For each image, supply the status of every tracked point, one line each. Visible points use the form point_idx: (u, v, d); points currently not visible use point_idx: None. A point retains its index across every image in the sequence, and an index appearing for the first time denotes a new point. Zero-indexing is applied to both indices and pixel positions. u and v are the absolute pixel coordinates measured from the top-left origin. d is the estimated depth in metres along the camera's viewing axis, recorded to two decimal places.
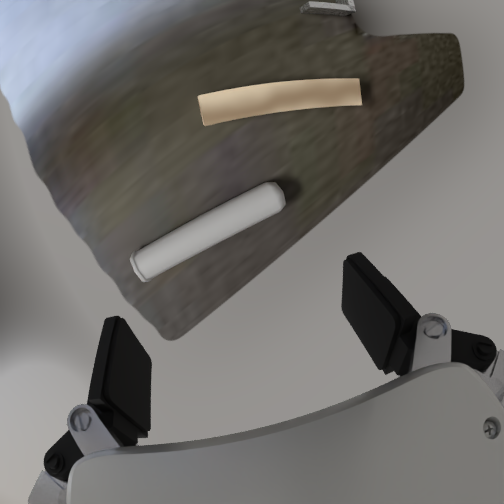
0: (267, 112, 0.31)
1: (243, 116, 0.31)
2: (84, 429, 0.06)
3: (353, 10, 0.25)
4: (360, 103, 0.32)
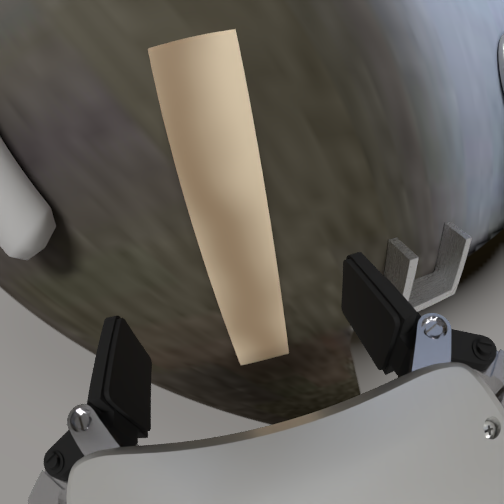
0: (188, 201, 0.13)
1: (173, 142, 0.12)
2: (84, 429, 0.06)
3: None
4: (243, 363, 0.21)
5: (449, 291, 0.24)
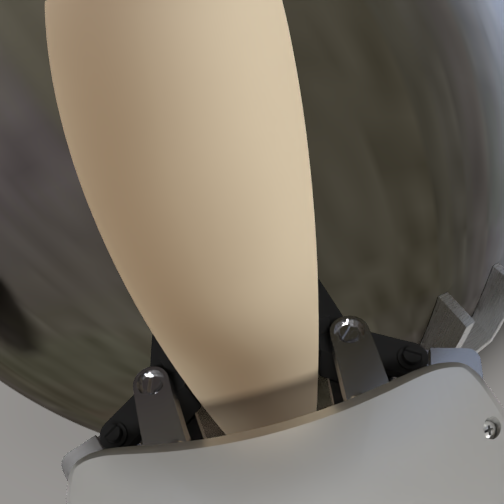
0: (164, 342, 0.06)
1: (108, 232, 0.05)
2: (150, 392, 0.07)
3: None
4: None
5: (488, 341, 0.18)
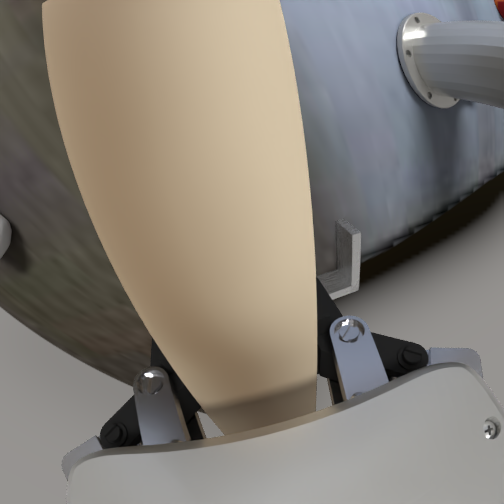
0: (163, 343, 0.06)
1: (106, 234, 0.05)
2: (150, 392, 0.07)
3: None
4: None
5: (349, 288, 0.29)
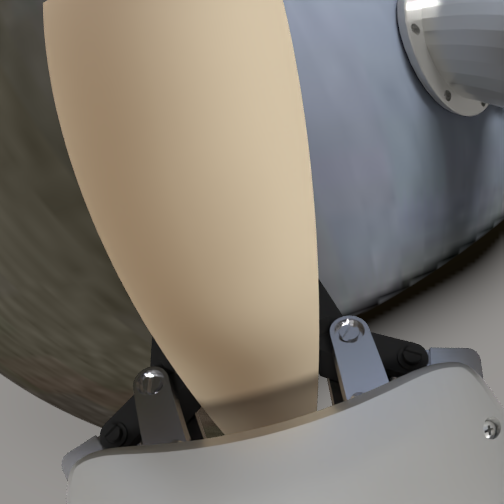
0: (165, 345, 0.06)
1: (108, 235, 0.05)
2: (150, 392, 0.07)
3: None
4: None
5: None
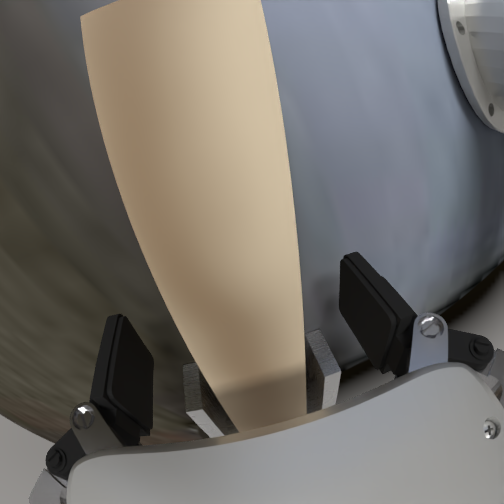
0: (169, 299, 0.08)
1: (129, 200, 0.06)
2: (87, 427, 0.06)
3: None
4: None
5: None
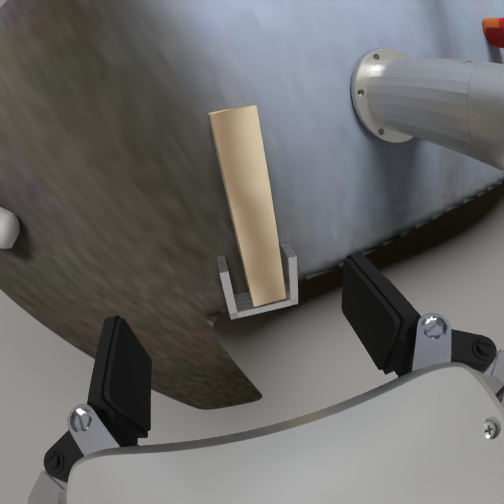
0: (230, 197, 0.25)
1: (223, 166, 0.24)
2: (84, 429, 0.06)
3: (231, 316, 0.35)
4: (255, 304, 0.33)
5: (288, 301, 0.35)
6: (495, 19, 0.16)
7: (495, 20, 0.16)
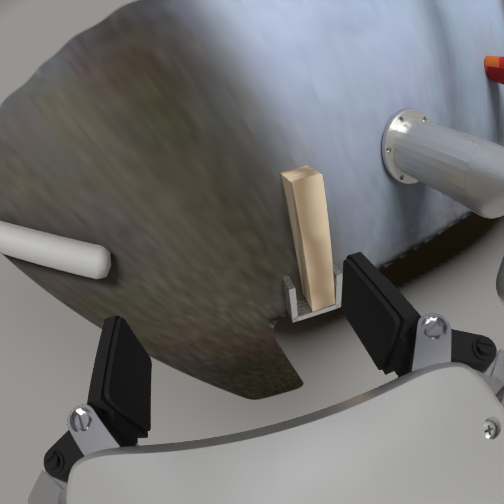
0: (303, 239, 0.36)
1: (299, 218, 0.34)
2: (84, 429, 0.06)
3: (293, 320, 0.45)
4: (314, 310, 0.43)
5: (334, 306, 0.46)
6: (496, 58, 0.25)
7: (496, 60, 0.25)
